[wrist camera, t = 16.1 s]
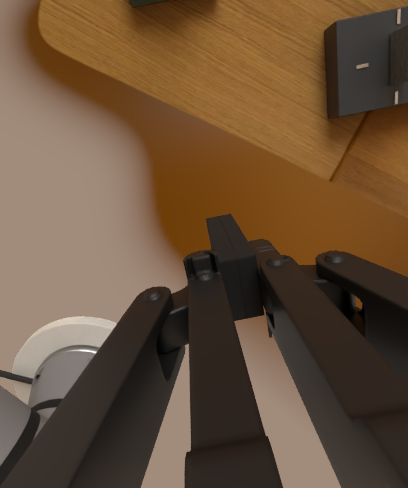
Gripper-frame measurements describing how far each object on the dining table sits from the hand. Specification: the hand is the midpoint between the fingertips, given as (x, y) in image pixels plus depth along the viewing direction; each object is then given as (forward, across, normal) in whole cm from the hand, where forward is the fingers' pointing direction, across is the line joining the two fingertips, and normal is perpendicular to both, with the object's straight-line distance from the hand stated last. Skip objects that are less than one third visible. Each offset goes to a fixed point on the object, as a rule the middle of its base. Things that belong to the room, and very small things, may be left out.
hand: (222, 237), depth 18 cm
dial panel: (+24, +25, +10) cm, 36 cm away
